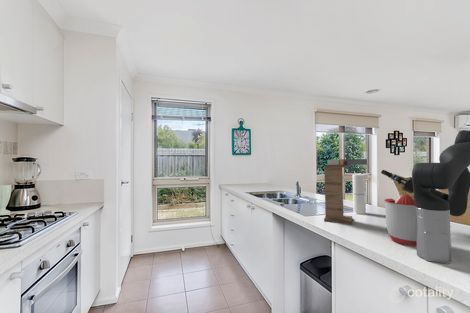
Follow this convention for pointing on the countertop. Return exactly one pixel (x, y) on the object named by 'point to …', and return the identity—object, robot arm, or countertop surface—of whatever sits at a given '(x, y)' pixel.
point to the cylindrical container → (359, 194)
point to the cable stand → (335, 194)
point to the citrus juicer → (401, 220)
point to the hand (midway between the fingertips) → (382, 171)
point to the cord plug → (349, 162)
